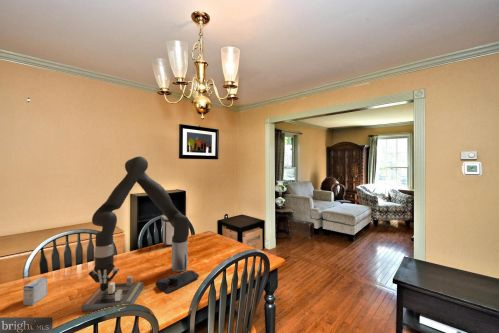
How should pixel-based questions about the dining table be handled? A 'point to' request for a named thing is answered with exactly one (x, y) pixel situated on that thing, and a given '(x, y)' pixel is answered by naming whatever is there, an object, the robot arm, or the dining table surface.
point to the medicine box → (34, 291)
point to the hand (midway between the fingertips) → (104, 290)
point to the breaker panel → (114, 296)
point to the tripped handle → (111, 287)
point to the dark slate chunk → (176, 281)
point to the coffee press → (167, 231)
